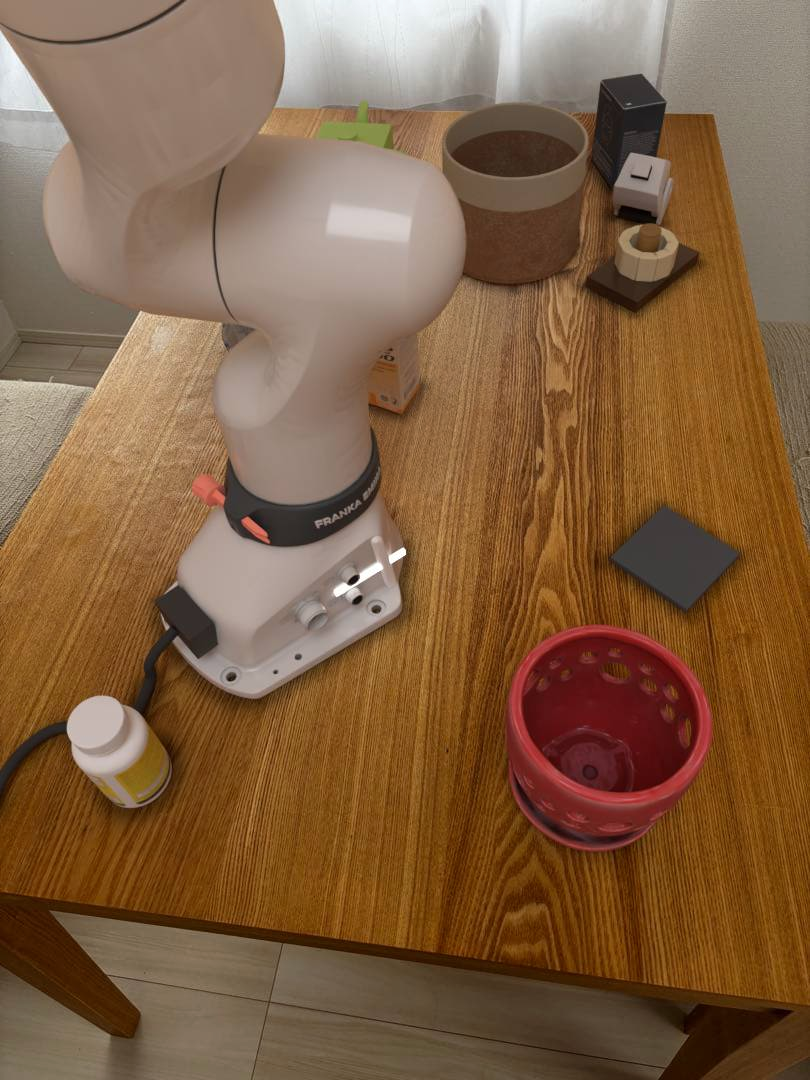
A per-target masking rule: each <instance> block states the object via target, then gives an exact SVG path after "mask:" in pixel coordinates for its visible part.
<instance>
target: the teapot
mask: <svg viewBox="0 0 810 1080" xmlns="http://www.w3.org/2000/svg"><path fill="white" fill-rule="evenodd" d="M369 104H370V103H369V101H368V100H363V101H361V102H360V103H359V104H358V108H357V113H356V120H355V122H351V121H350V122H349V121H325V120H324V121H322V123H321V126H320V128H319V130H318V132H317V134H316V137H315V138H321V139H334V140H347V141H361V142H365V143H369V144H372V145H375V146H379V147H382V148H386V149H389V150H393V151H396V152H399V153H402V154H406V155H409V156H411V155H410V154H409V153H407V152H405V151H402V150H398V149H395V148H394V147H395V146H394V131H393V124H391V123H375V122H373V123H372V122H369V107H370V106H369Z"/></svg>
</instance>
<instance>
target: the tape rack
mask: <svg viewBox="0 0 810 1080" xmlns="http://www.w3.org/2000/svg"><path fill="white" fill-rule="evenodd" d="M641 225H642V226H641V227H640V229H639V234H638V240H637V245H636V249H637V250H639V251H641V252H650V253H655V252H657V251H658V246H659V241H660V237H661V232H662V230H661V228H660V227H661V226H660V225H656V224H651V223H648V224H646V223H643V224H641ZM659 226H660V227H659ZM700 254H701V253H700V251H698V250H696V249H693V248H691V247H689V246H687V245H685V244H683V243H681V242H679V245H678V250H677V254H676V258H675V263H674V267H673V268H672V270H671V272H670V274H669V275H668V276H667V277H664V278H662V279H659V280H657V281H652V282H647V281H635V280H632V279H630V278H628V277H626V276H624V275H622V274H620V273H619V271H618V269H617V267H616V265H615V256H616V254H615V255H613V256H612V257H611V258H610V259H608V260H606V261H605V263H603V264H602V265H601V266H599V267H597V268H596V269H595V270H593V271H592V272H591V273H589V274H588V275H587V276H586V280H585V288H586V289H588V290H590V291H592V292H594V293H596V294H598V295H600V296H602V297H604V298H605V299H608V300H609V301H611V302H613V303H615V304H617V305H619V306H621V307H623V308H625V309H627V310H629V311H631V312H633V313H634V314H636V313H637V312H639V311H640V310H641V309H642V308H643V307H645V306H646V305H647V304H648V303H650V302H651V301H652V300H654V298H656V297H657V296H658V295H659V294H662V292H663V291H665V290H666V289H667V288H668V287H670V286H671V285H672V284H673V283H674V282H676V281H677V280H678V279H679V278H681V277H682V276H683V275H685V274H686V273H687V272H688V271H690V270H691V269H692V268H693V267H694V266H695V265H697V264H698V262H699V258H700Z"/></svg>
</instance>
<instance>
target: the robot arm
mask: <svg viewBox="0 0 810 1080" xmlns="http://www.w3.org/2000/svg"><path fill="white" fill-rule="evenodd" d="M0 32H1V34H2V35H3V36H4V38H5V40H6V41H7V43H8V44H9V46H10V47H11V49H12V50H13V52H14V53H15V54H16V56H17V57H18V59H19V60H20V62H21V63H22V65H23V66H24V68H25V70H26V71H27V72H28V74H29V75H30V77H31V78H32V80H33V81H34V83H35V84H36V86H37V87H38V89H39V91H40V92H41V93H42V95H43V97H44V98H45V100H46V101H47V103H48V104H49V106H50V107H51V109H52V111H53V112H54V114H55V116H56V117H57V118H58V121H59V122H60V123H61V125H62V127H63V129H64V130H65V131H64V132H65V133H66V135H67V137H68V139H69V140H68V141H67V142H66V143H65V144H64V145H63V146H62V148H61V149H60V151H59V152H58V154H57V155H56V157H55V158H54V160H53V161H52V164H51V166H50V168H49V171H48V173H47V177H46V180H45V183H44V189H43V193H42V194H43V195H42V220H43V226H44V227H43V228H44V232H45V236H46V240H47V243H48V246H49V248H50V251H51V252H52V255H53V257H54V259H55V261H56V263H57V265H58V266H59V268H60V270H61V271H62V272H63V274H64V275H65V277H66V278H67V279H68V280H69V282H71V283H72V284H73V285H74V286H75V287H76V288H78V289H79V290H81V291H83V292H84V293H87V294H90V295H94V296H96V297H99V298H102V299H104V300H107V301H110V302H112V303H115V304H117V305H121V306H124V307H127V308H129V309H132V310H136V311H139V312H143V313H146V314H150V315H153V316H163V317H171V318H181V319H187V320H196V321H203V322H212V323H219V324H223V323H227V324H235V325H243V326H246V327H251V328H254V329H256V330H255V331H254V332H252V333H251V334H249V335H248V336H246V337H245V338H244V339H243V340H241V341H240V342H239V343H238V344H236V345H235V346H234V347H233V348H232V349H231V350H230V351H229V352H228V351H227V353H226V354H225V355H224V357H223V358H222V360H221V361H220V362H219V365H218V367H217V369H216V372H215V375H214V378H213V382H212V390H211V391H212V392H211V403H212V408H213V412H214V415H215V418H216V422H217V424H218V427H219V430H220V433H221V437H222V439H223V443H224V446H225V449H226V451H227V454H228V455H227V461H226V465H225V466H226V467H225V473H224V480H223V484H221V483H219V482H218V481H217V480H216V478H215V477H214V476H213V475H212V474H209V473H203V474H200V475H199V476H198V477H196V479H194V481H193V483H192V486H191V492H192V494H193V495H194V496H195V497H197V498H198V499H200V500H202V501H203V503H204V504H205V505H206V506H207V507H214V508H213V509H212V511H211V512H210V514H209V515H208V517H207V518H206V519H205V521H204V523H203V524H202V525H201V527H200V529H199V530H198V532H197V533H195V536H193V538H192V540H191V542H190V543H189V544H188V546H187V547H186V549H185V550H184V552H182V554H181V556H180V558H179V560H178V563H177V567H176V568H177V569H176V580H175V581H174V582H173V584H172V585H171V586H169V588H168V589H167V590H166V591H165V592H164V593H163V594H162V595H161V596H159V597H158V598H157V599H155V600H154V603H155V605H156V607H157V609H158V611H159V613H160V618H161V621H162V624H163V627H164V630H165V632H164V633H163V634H162V635H161V636H160V638H159V639H158V640H156V642H155V643H154V644H153V646H152V647H151V648H150V650H149V651H148V653H147V654H146V657H145V658H144V662H143V665H142V667H143V672H144V675H145V678H144V681H143V683H142V686H141V689H140V692H139V693H138V696H137V698H136V701H135V703H134V704H133V706H132V708H133V709H135V710H136V711H137V712H139V713H140V715H141V716H143V713H144V711H145V709H146V708H147V705H148V703H149V700H150V698H151V697H152V693H153V690H154V688H155V685H156V682H157V678H158V673H157V669H156V664H157V661H158V660H159V658H160V657H161V655H162V654H163V653H164V651H165V650H166V649H167V648H168V647H169V646H170V645H171V644H172V645H173V646H174V649H175V650H176V651H177V652H178V653H179V655H181V657H182V658H183V659H184V660H185V661H186V663H188V665H189V666H191V668H192V669H194V670H195V671H196V672H197V673H198V674H199V675H200V676H201V677H203V678H204V679H205V680H206V681H208V682H209V683H210V684H212V685H213V686H215V687H216V688H218V689H220V690H222V691H224V692H226V693H228V694H230V695H233V696H237V697H239V698H245V699H249V700H259V699H261V698H264V697H265V696H267V695H268V694H271V693H272V692H274V691H275V690H277V689H279V688H281V687H282V686H284V685H286V684H287V683H289V682H291V681H292V680H294V679H295V678H297V677H299V676H301V675H302V674H304V673H306V672H307V671H309V670H310V669H312V668H314V667H315V666H318V665H319V664H321V663H322V662H324V661H326V660H327V659H329V658H330V657H332V656H335V655H336V654H337V653H339V652H342V651H343V650H344V649H346V648H347V647H349V646H351V645H352V644H354V643H356V642H357V641H359V640H361V639H362V638H364V637H366V636H367V635H369V634H371V633H372V632H374V631H376V630H378V629H380V628H381V627H382V626H385V625H387V624H388V623H389V622H391V621H392V620H394V619H396V618H397V617H398V616H400V614H401V613H402V612H403V607H404V606H403V603H404V602H403V601H404V600H403V596H402V592H401V588H400V576H401V573H402V568H403V565H404V559H405V556H406V554H407V552H406V549H405V546H404V540H403V536H402V534H401V532H400V529H399V527H398V525H397V524H396V522H395V521H394V519H393V518H392V516H391V514H390V512H389V510H388V507H387V506H386V502H385V498H384V496H383V492H382V488H381V483H382V476H383V474H382V464H381V457H380V451H379V444H378V440H377V436H376V433H375V431H374V429H373V427H372V426H371V423H370V407H369V403H368V380H369V376H370V373H371V371H372V368H373V366H374V365H375V363H376V362H377V360H378V359H379V358H380V357H381V356H382V355H383V354H384V353H385V352H386V351H387V350H388V349H390V348H391V347H392V346H394V345H395V344H396V343H398V342H400V341H402V340H404V339H405V338H407V337H410V336H412V335H415V334H417V335H418V334H420V333H421V332H423V331H424V330H425V329H426V328H428V327H429V326H430V325H431V324H432V323H433V322H434V321H435V320H436V319H437V318H439V316H441V314H442V312H443V311H444V310H445V309H446V307H447V306H448V304H449V303H450V302H451V300H452V298H453V296H454V295H455V292H456V290H457V289H458V286H459V284H460V280H461V277H462V275H463V273H464V272H463V268H464V263H465V256H466V229H465V222H464V217H463V213H462V209H461V206H460V203H459V201H458V198H457V196H456V194H455V192H454V190H453V188H452V186H451V184H450V183H449V181H448V179H447V178H446V176H445V175H444V174H443V170H442V169H440V168H439V166H438V165H436V164H435V163H432V162H429V161H427V160H424V159H420V158H417V157H414V156H411V155H410V154H409V155H410V156H409V155H406V154H402V153H399V152H396V151H393V150H389V149H386V148H382V147H379V146H375V145H372V144H369V143H365V142H361V141H347V140H334V139H321V138H316V137H307V136H294V135H282V134H280V135H279V134H267V133H259V132H260V131H261V130H262V128H264V125H265V124H266V123H267V121H268V120H269V118H270V116H271V115H272V113H273V111H274V109H275V108H276V107H275V106H276V105H277V102H278V100H279V97H280V94H281V90H282V87H283V84H284V79H285V78H284V76H285V69H286V68H285V65H286V43H285V41H286V40H285V34H284V29H283V25H282V22H281V19H280V16H279V13H278V10H277V7H276V4H275V0H0ZM376 610H379V611H380V612H377V613H375V612H374V611H376ZM232 677H235V679H233V680H232V681H229V679H230V678H232ZM67 723H68V721H59V722H54V723H51V724H50V725H46V726H45V727H43V728H41V729H39V730H38V731H36V732H35V733H34V734H32V735H31V736H29V737H28V738H26V739H25V741H23V742H22V743H21V744H20V745H19V746H18V747H17V748H16V749H15V750H14V751H13V752H12V753H11V754H10V756H9V757H8V758H7V760H6V761H5V762H4V764H3V765H2V766H1V769H0V797H1V796H2V794H3V793H4V790H5V788H6V786H7V784H8V782H9V780H10V779H11V777H12V776H13V774H14V773H15V770H16V769H17V768H18V766H19V765H20V764H21V763H22V762H23V760H24V759H25V758H26V757H27V756H28V755H29V754H30V753H31V752H32V751H33V750H34V749H36V748H37V747H38V746H39V745H41V744H42V743H44V742H45V741H47V740H49V739H51V738H52V737H55V736H57V735H60V734H67Z"/></svg>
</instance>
